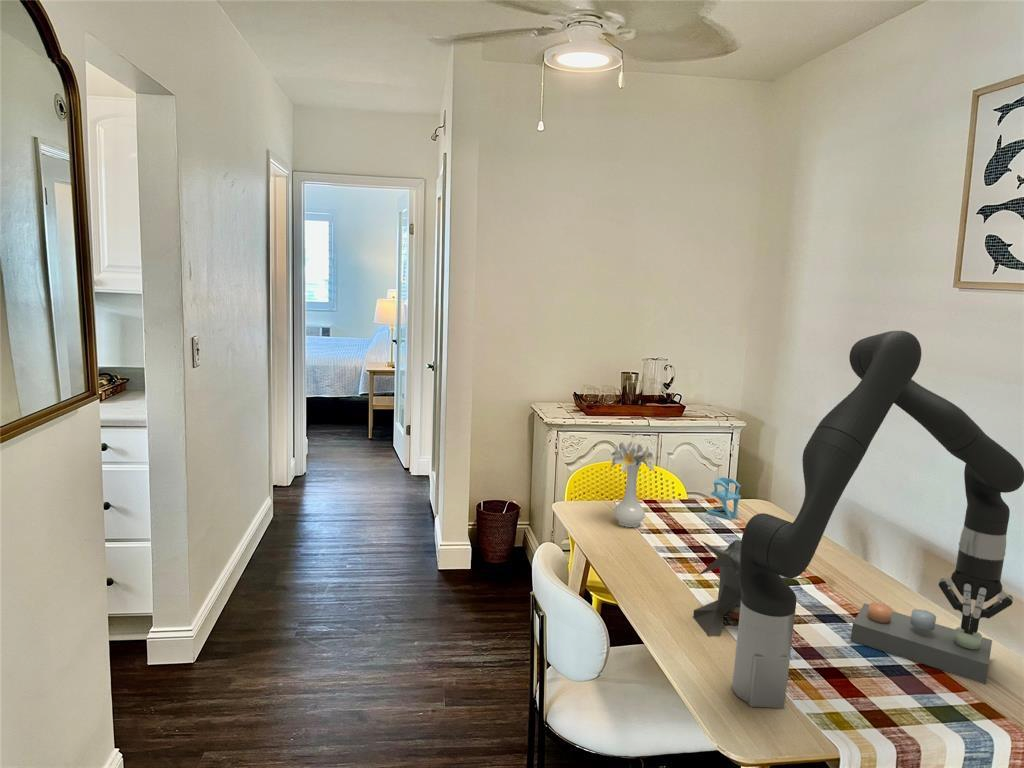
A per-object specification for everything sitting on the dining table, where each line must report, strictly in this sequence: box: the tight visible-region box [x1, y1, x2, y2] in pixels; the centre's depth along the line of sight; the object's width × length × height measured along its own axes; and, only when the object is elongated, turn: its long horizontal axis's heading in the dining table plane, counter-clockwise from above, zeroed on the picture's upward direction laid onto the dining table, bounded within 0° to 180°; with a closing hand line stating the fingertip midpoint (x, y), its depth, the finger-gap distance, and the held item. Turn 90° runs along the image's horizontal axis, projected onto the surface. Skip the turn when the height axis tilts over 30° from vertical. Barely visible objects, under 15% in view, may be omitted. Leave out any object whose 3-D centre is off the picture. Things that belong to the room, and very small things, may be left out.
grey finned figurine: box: [692, 539, 742, 637], centre depth 155 cm, size 14×15×18 cm
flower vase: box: [609, 441, 655, 528], centre depth 212 cm, size 13×18×25 cm
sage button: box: [954, 626, 983, 650], centre depth 141 cm, size 4×4×2 cm
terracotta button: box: [868, 602, 893, 623], centre depth 151 cm, size 4×4×2 cm
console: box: [850, 603, 993, 684], centre depth 147 cm, size 24×12×4 cm, turn 53°
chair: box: [706, 476, 742, 521], centre depth 224 cm, size 8×8×12 cm
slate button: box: [910, 608, 937, 631], centre depth 146 cm, size 4×4×2 cm
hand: (968, 632), depth 141 cm, fingers closed
